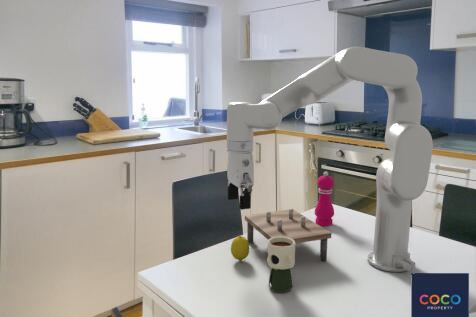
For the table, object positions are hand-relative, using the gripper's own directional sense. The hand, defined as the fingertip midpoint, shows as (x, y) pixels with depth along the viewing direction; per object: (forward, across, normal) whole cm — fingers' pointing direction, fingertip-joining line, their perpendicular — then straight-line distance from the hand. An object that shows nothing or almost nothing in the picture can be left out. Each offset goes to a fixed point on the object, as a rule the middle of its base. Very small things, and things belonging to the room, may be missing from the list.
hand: (238, 203), depth 123 cm
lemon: (+18, 0, -1) cm, 18 cm away
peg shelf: (+18, +2, -17) cm, 24 cm away
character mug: (+18, -19, -5) cm, 27 cm away
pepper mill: (+18, +19, -42) cm, 49 cm away
